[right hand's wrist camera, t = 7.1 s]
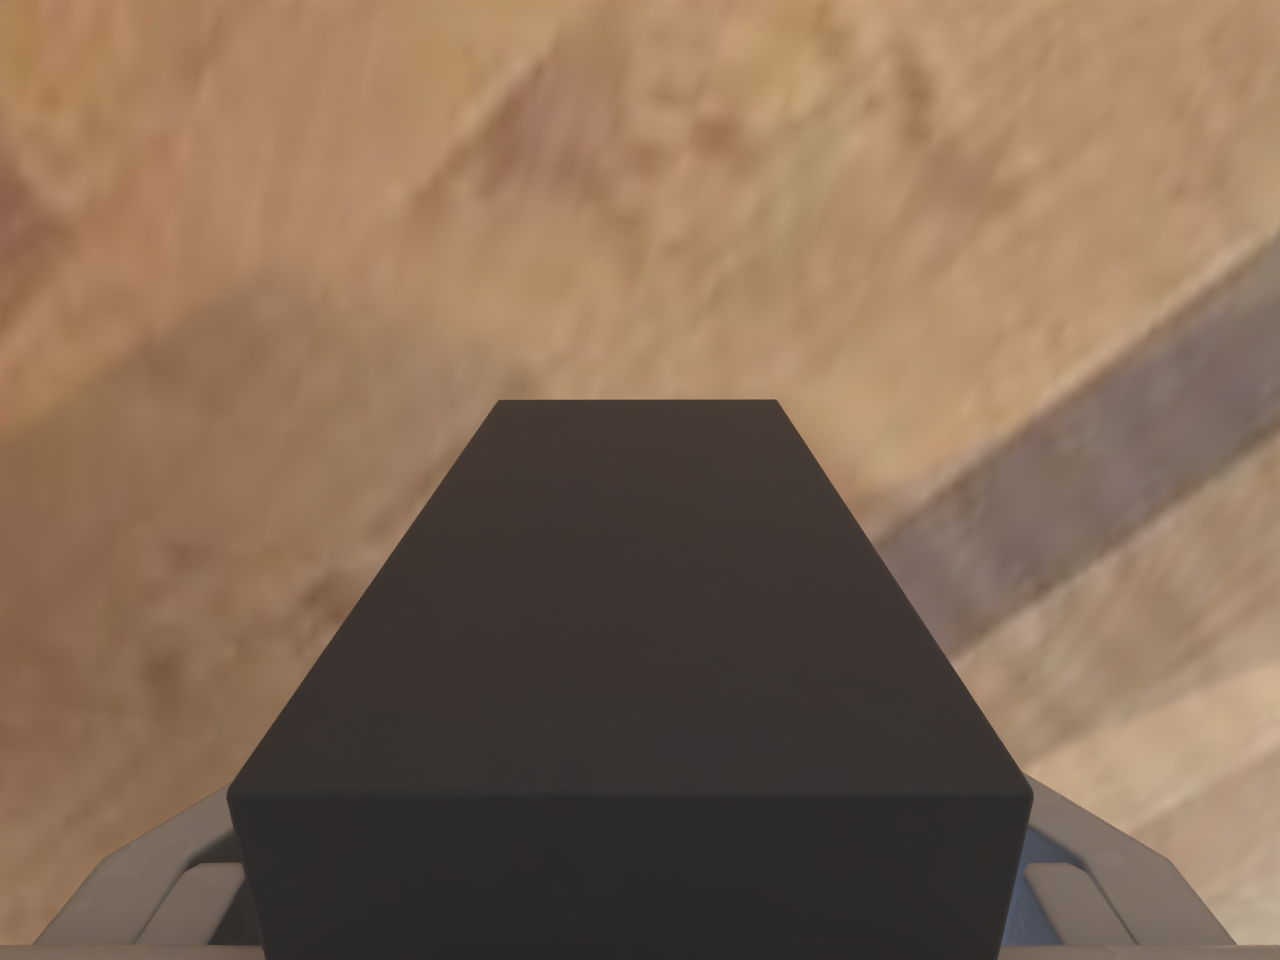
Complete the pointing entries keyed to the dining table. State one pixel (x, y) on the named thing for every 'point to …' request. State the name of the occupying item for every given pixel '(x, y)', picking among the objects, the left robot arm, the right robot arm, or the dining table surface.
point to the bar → (632, 721)
